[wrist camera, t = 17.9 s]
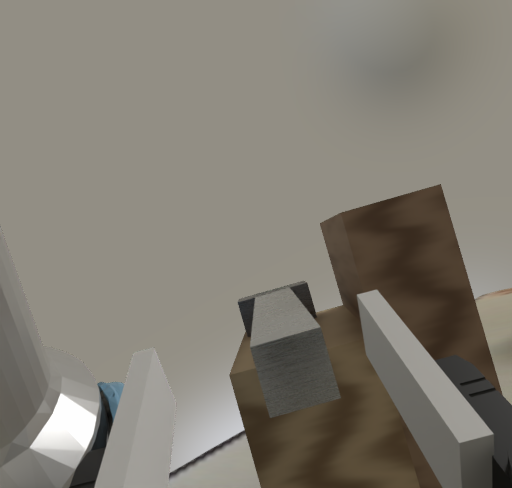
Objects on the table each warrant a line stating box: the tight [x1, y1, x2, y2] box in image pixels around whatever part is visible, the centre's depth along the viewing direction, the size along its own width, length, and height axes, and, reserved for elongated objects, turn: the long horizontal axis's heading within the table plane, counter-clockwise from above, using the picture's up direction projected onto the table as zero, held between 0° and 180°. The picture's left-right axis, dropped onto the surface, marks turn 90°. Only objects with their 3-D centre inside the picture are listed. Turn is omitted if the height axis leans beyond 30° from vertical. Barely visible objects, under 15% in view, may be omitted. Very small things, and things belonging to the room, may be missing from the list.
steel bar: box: [238, 281, 341, 418], centre depth 35 cm, size 8×26×4 cm, turn 179°
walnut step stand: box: [230, 184, 503, 488], centre depth 40 cm, size 20×16×28 cm
